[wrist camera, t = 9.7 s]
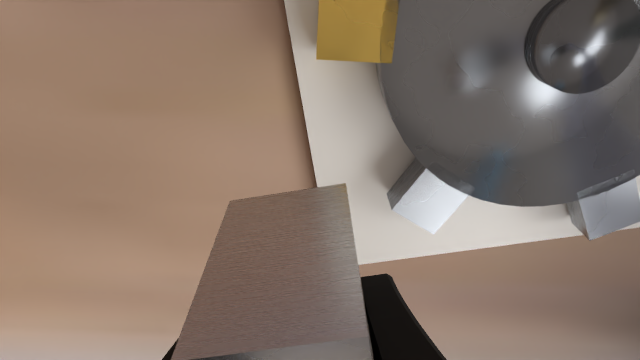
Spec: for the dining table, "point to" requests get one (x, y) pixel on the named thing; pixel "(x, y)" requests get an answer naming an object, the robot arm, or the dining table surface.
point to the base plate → (391, 162)
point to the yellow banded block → (281, 283)
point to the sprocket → (504, 101)
